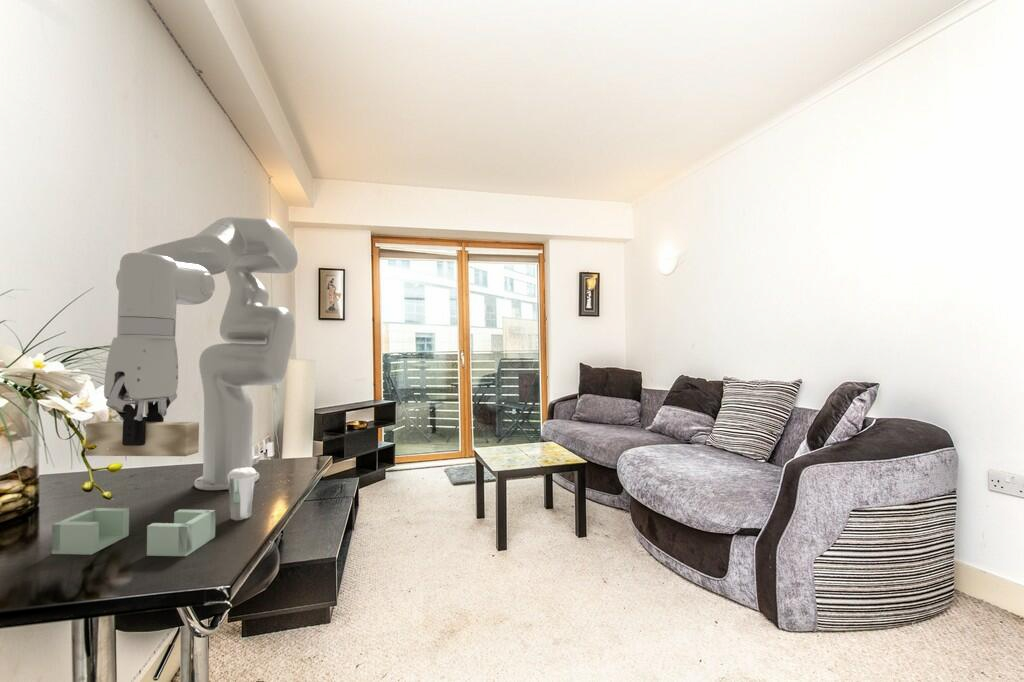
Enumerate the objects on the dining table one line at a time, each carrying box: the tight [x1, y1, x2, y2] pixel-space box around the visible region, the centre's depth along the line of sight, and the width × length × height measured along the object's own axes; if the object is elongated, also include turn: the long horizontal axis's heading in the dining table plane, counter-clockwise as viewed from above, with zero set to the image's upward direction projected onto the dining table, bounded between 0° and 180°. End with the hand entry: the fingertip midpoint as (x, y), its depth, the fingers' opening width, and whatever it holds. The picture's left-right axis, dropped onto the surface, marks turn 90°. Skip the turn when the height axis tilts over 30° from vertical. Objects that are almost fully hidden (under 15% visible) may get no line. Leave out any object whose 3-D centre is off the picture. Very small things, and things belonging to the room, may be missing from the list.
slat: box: [84, 421, 200, 457], centre depth 76 cm, size 16×3×5 cm, turn 90°
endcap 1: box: [51, 507, 130, 555], centre depth 74 cm, size 6×7×4 cm
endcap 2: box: [146, 508, 216, 557], centre depth 74 cm, size 6×7×4 cm
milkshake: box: [227, 459, 257, 521], centre depth 87 cm, size 4×5×10 cm
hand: (143, 442), depth 76 cm, fingers closed on slat, 3 cm apart
